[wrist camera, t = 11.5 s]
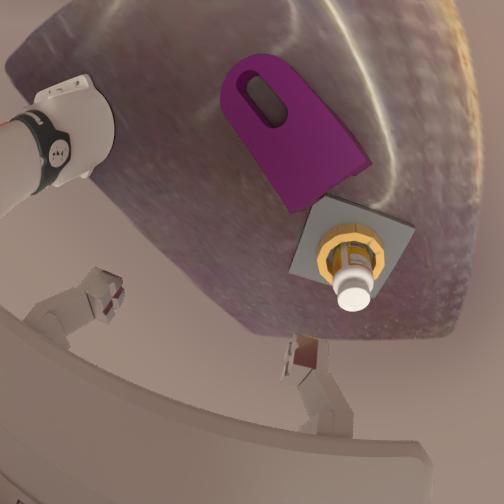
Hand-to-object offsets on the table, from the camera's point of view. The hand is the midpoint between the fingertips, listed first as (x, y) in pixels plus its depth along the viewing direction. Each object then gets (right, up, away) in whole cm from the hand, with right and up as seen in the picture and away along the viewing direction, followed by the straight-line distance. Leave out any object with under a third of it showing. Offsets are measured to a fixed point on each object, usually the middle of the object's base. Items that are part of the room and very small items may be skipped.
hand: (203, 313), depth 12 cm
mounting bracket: (+7, +19, +20) cm, 28 cm away
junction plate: (+17, +3, +28) cm, 32 cm away
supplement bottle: (+16, +3, +27) cm, 32 cm away
